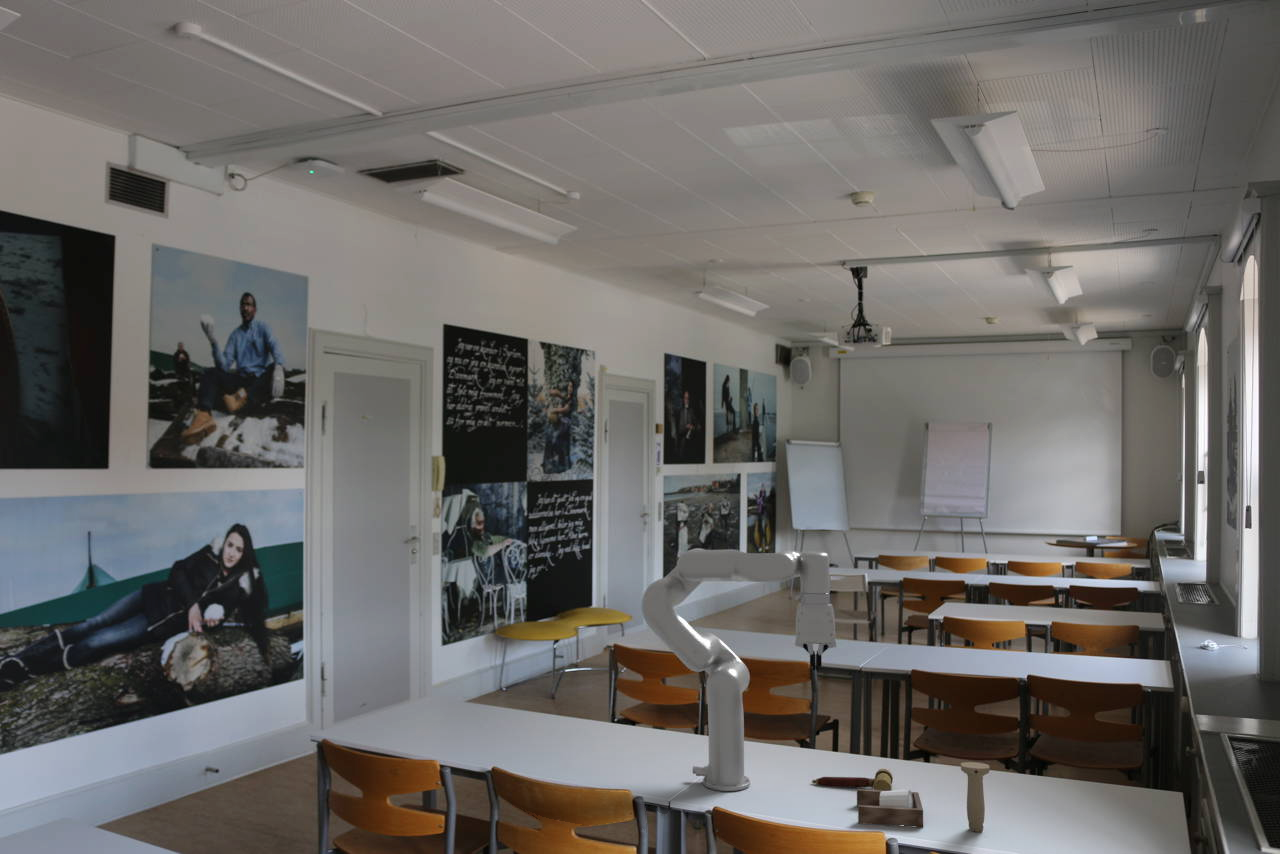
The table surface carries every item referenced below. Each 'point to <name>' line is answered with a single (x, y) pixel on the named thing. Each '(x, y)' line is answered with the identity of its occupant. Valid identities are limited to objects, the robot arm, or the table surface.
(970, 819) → the handle
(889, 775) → the gavel
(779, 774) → the table surface
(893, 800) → the white short tapered cylinder
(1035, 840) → the table surface
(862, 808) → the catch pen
